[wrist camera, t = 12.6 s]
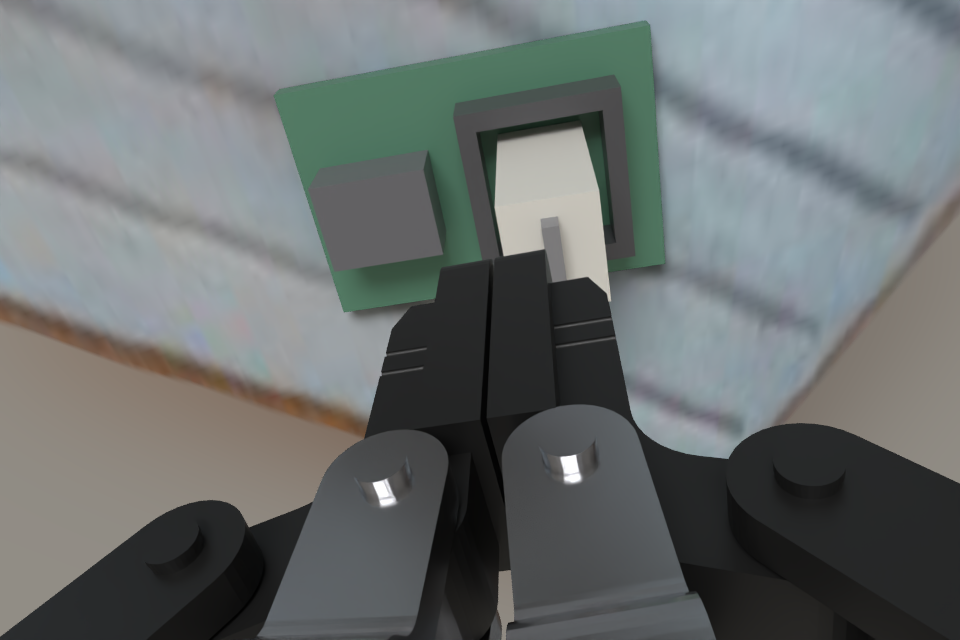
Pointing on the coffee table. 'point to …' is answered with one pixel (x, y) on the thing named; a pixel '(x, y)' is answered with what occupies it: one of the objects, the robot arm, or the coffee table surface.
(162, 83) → the coffee table surface
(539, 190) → the plug
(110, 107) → the coffee table surface
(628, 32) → the header board
